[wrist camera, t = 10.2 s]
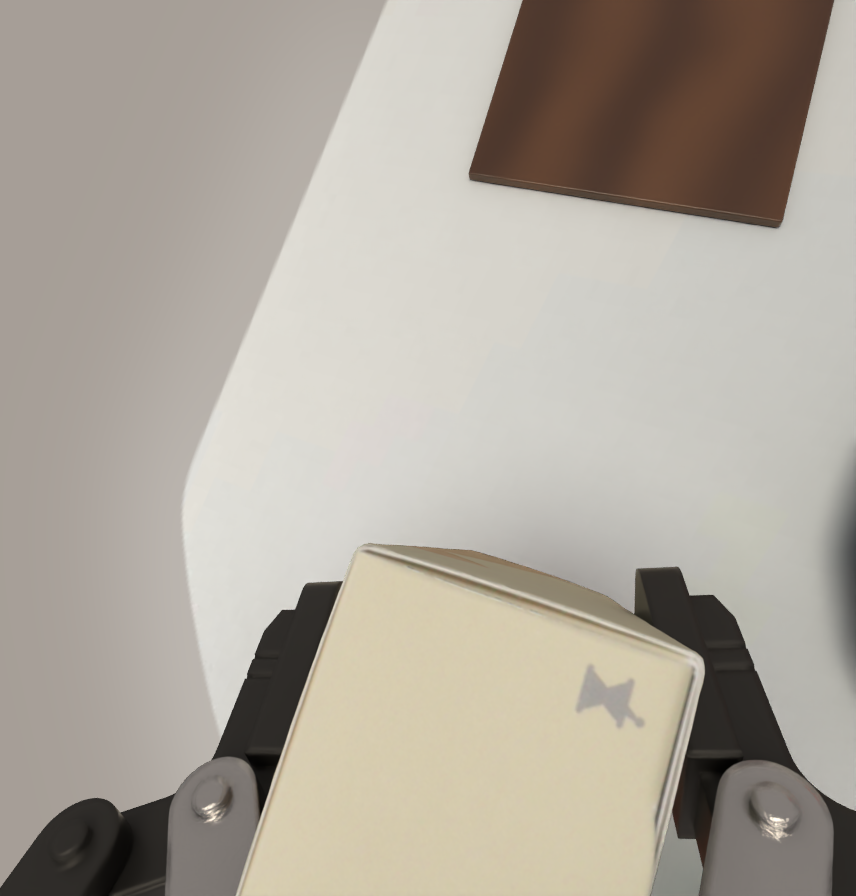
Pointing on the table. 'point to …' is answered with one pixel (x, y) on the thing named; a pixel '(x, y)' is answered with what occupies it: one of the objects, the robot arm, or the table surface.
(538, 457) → the table surface
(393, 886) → the box
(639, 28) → the board
